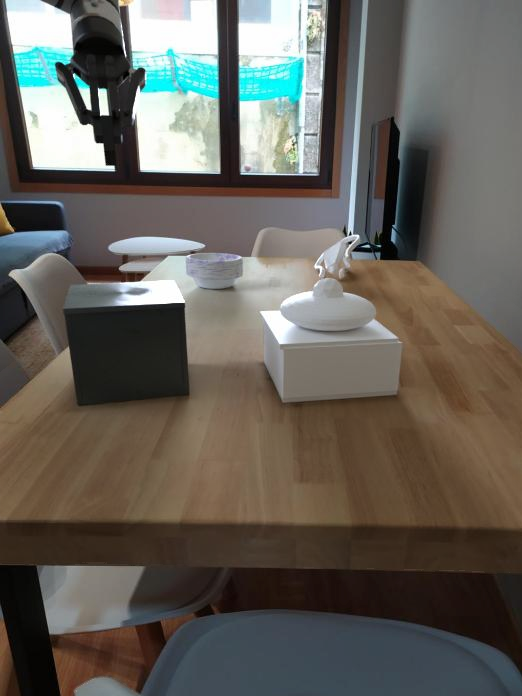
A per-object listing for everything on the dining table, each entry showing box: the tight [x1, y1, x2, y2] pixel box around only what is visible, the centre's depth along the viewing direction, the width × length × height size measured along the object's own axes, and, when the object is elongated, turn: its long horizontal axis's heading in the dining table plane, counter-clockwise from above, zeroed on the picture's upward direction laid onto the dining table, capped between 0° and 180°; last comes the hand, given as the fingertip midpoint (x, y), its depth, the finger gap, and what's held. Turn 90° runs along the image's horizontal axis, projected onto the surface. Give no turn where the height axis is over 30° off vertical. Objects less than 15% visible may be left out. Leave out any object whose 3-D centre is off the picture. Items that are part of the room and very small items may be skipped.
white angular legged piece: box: [314, 234, 361, 280], centre depth 163 cm, size 17×9×22 cm
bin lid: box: [62, 280, 186, 315], centre depth 78 cm, size 14×16×1 cm
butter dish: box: [259, 277, 403, 404], centre depth 84 cm, size 18×18×16 cm
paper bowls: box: [185, 252, 244, 290], centre depth 146 cm, size 15×15×8 cm
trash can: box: [63, 307, 190, 406], centre depth 81 cm, size 14×16×13 cm
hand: (110, 158), depth 75 cm, fingers closed
